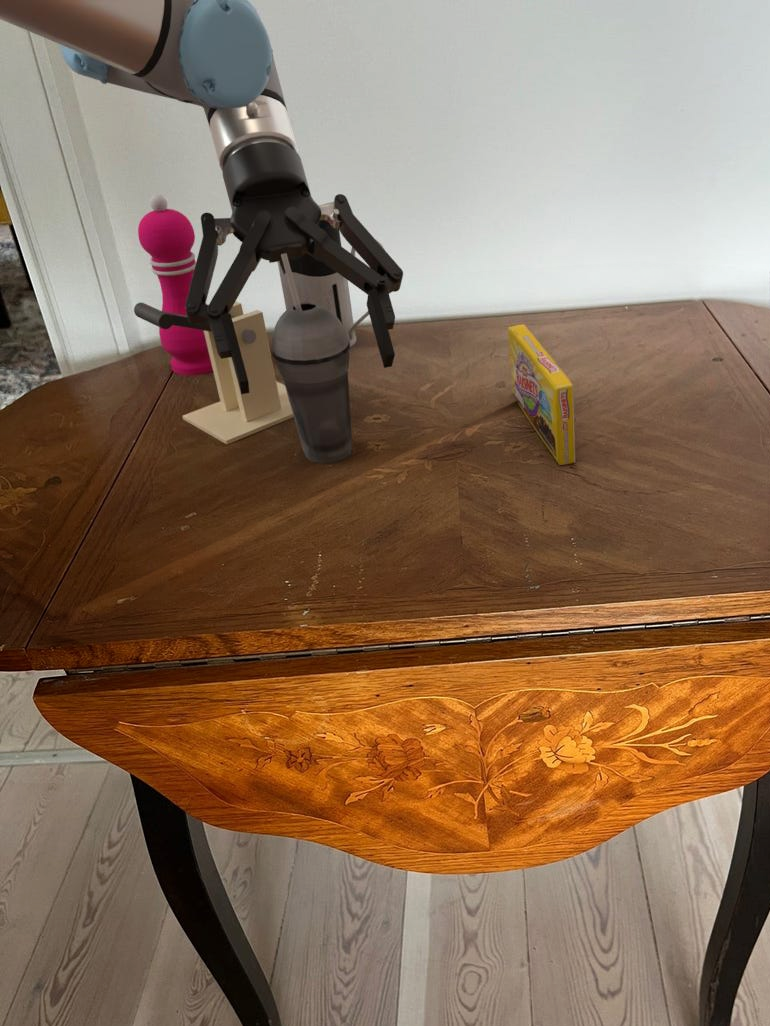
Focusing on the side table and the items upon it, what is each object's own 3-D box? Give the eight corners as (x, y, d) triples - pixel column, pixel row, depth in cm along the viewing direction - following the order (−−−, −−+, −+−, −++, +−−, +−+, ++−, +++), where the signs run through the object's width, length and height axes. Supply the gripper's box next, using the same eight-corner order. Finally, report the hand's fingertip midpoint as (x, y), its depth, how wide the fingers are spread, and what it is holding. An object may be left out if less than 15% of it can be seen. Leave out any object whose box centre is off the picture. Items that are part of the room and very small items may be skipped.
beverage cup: (346, 481, 92) (312, 270, 79) (280, 472, 94) (237, 265, 82) (377, 447, 97) (351, 244, 85) (315, 439, 99) (279, 240, 87)
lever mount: (228, 452, 98) (201, 340, 91) (184, 426, 103) (156, 319, 96) (322, 413, 104) (304, 305, 97) (276, 391, 110) (256, 287, 102)
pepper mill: (239, 372, 114) (200, 194, 102) (182, 389, 111) (134, 207, 99) (216, 354, 119) (176, 182, 107) (161, 370, 116) (113, 195, 104)
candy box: (510, 400, 104) (507, 325, 99) (528, 397, 105) (527, 322, 100) (555, 467, 92) (555, 386, 87) (576, 463, 92) (577, 382, 87)
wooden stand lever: (157, 333, 89) (160, 307, 89) (132, 321, 92) (135, 296, 92) (257, 349, 98) (261, 325, 97) (231, 337, 101) (235, 314, 100)
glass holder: (310, 333, 123) (290, 210, 114) (411, 342, 119) (398, 215, 110) (277, 359, 117) (252, 231, 108) (382, 369, 113) (366, 237, 103)
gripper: (117, 155, 83) (176, 382, 81) (392, 121, 89) (453, 332, 87) (131, 205, 90) (185, 415, 88) (384, 171, 96) (440, 367, 94)
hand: (318, 374), depth 88 cm, fingers open, 13 cm apart
